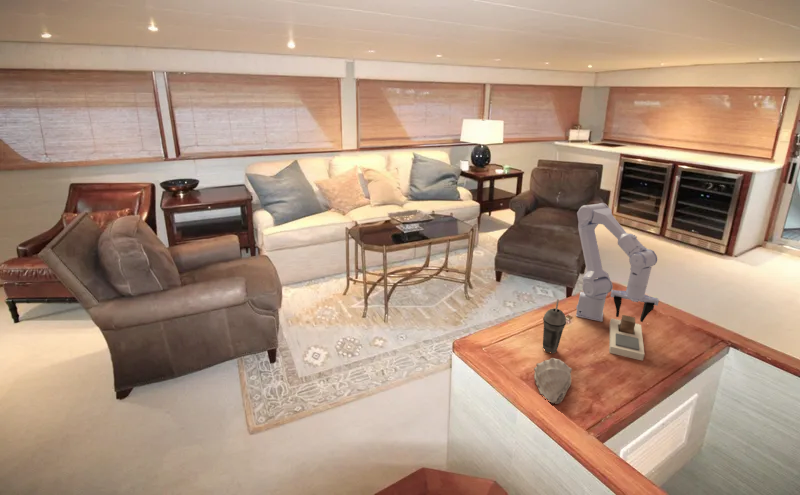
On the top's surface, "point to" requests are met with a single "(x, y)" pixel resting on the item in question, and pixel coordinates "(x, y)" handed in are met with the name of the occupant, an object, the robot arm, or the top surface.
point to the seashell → (553, 379)
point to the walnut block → (627, 324)
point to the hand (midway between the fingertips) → (629, 318)
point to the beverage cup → (553, 328)
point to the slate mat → (627, 341)
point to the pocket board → (636, 333)
